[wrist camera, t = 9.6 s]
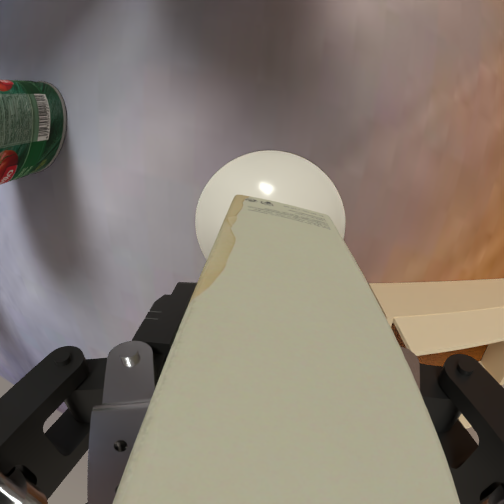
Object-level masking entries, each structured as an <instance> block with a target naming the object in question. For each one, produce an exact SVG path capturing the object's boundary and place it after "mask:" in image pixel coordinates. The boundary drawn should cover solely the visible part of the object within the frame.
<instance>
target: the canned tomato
mask: <svg viewBox="0 0 504 504" xmlns="http://www.w3.org/2000/svg"><path fill="white" fill-rule="evenodd" d="M66 121H67V117H66V108H65V104H64V100H63V98H62V96H61V94H60V92H59V91H58V90H57V88H56V87H54V86H53V85H52V84H50V83H47V82H41V81H38V82H34V81H18V80H0V184H3V183H6V182H8V181H11V180H14V179H17V178H20V177H24V176H27V175H29V174H32V173H38V172H41V171H43V170H44V169H46V168H47V167H49V166H50V165H51V164H52V163H53V161H54V160H55V158H56V157H57V155H58V153H59V151H60V149H61V147H62V144H63V141H64V137H65V132H66Z"/></svg>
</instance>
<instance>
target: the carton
mask: <svg viewBox="0 0 504 504" xmlns="http://www.w3.org/2000/svg"><path fill="white" fill-rule="evenodd" d="M369 287H370V289H371V290H372V292H373V294H374V296H375V298H376V300H377V302H378V304H379V306H380V308H381V309H382V311H383V313H384V315H385V317H386V319H387V321H388V323H389V325H390V327H391V326H392V323H394V325H395V327H396V328H397V330H398V332H399V334H400V336H401V338H402V340H403V342H404V344H405V346H406V348H407V349H409V350H410V351H412V352H413V353H414V354H415V355H416V356H419V355H427V354H434V353H441V352H447V351H454V350H460V349H465V348H471V347H476V346H481V345H486V344H488V347H487V349H486V351H485V353H484V355H483V357H482V359H481V361H479V363H480V364H481V365H482V366H483V367H484V368H485V369H486V370H487V371H488V372H489V373H490V374H491V375H492V377H493V378H494V379H495V380H496V381H497V382H498V383H499V384H500V385H504V278H502V279H485V280H465V281H441V282H412V283H369ZM458 419H459V421H460V422H461V423H462V424H463V426H464V427H465V428H466V429H467V428H470V427H472V426H471V425H470V423H469V422H468V421H467V420H466V418H465V417H464V416H463V414H461V415H460V417H459V418H458Z"/></svg>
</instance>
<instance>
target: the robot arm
mask: <svg viewBox="0 0 504 504" xmlns="http://www.w3.org/2000/svg"><path fill="white" fill-rule="evenodd" d="M196 285H197V283H188V282H178V283H177V285H176V287H175V289H174V290H173V292H172V294H171V295H163V296H162V297H161V298H159V299H158V300H157V301H155V302H154V304H153V306H152V307H151V309H150V312H148V314H147V316H146V319H144V321H143V322H142V324H141V326H140V327H139V329H138V331H137V332H136V334H135V336H134V337H133V339H132V341H127V342H123V343H121V344H119V345H117V346H115V347H114V348H113V349H112V350H111V351H110V352H109V354H108V357H107V358H99V359H85V357H84V355H83V352H82V351H81V350H80V349H79V348H77V347H74V346H65V347H61V348H58V349H56V350H54V351H53V352H51V353H50V354H49V355H48V356H47V357H45V358H44V359H43V360H42V361H41V362H40V363H39V364H38V365H36V366H35V367H34V368H33V369H32V370H31V371H30V372H29V373H27V374H26V375H25V376H24V377H23V378H22V379H21V380H20V381H19V382H17V383H16V384H15V385H14V386H13V387H12V388H11V389H10V390H9V391H8V392H7V393H6V394H4V395H3V396H2V397H1V398H0V504H48V502H47V500H48V498H49V497H50V496H51V495H52V493H53V492H54V491H55V490H56V488H57V487H58V486H59V485H60V483H61V482H62V481H63V480H64V478H65V477H66V476H67V475H68V474H69V472H70V471H71V470H72V469H73V467H74V466H75V465H76V464H77V462H78V461H79V460H80V459H81V457H82V456H83V455H84V454H85V452H86V451H87V450H88V449H89V451H88V503H86V504H113V501H114V498H115V495H116V493H117V490H118V487H119V484H120V481H121V479H122V476H123V473H124V470H125V467H126V465H127V462H128V459H129V457H130V454H131V451H132V449H133V446H134V443H135V441H136V438H137V435H138V433H139V430H140V428H141V425H142V422H143V420H144V418H145V415H146V412H147V409H148V407H149V404H150V401H151V399H152V396H153V393H154V390H155V388H156V385H157V382H158V380H159V377H160V375H161V372H162V369H163V367H164V364H165V362H166V359H167V357H168V354H169V352H170V349H171V347H172V344H173V342H174V339H175V337H176V334H177V331H178V329H179V326H180V324H181V321H182V319H183V316H184V314H185V312H186V309H187V307H188V304H189V302H190V299H191V297H192V295H193V292H194V290H195V287H196ZM396 340H397V339H396ZM397 342H398V341H397ZM400 348H401V350H402V352H403V354H404V357H405V359H406V361H407V363H408V365H409V367H410V369H411V372H412V374H413V376H414V379H415V381H416V384H417V386H418V388H419V391H420V393H421V395H422V398H423V400H424V403H425V405H426V408H427V410H428V412H429V415H430V417H431V420H432V422H433V425H434V427H435V430H436V433H437V435H438V438H439V440H440V443H441V446H442V448H443V451H444V454H445V457H446V460H447V462H448V465H449V469H450V472H451V475H452V478H453V481H454V485H455V488H456V491H457V494H458V498H459V501H460V503H461V504H504V388H503V387H502V386H501V385H500V384H499V383H498V382H497V381H496V380H495V379H494V378H493V377H492V375H491V374H490V373H489V372H488V371H487V370H486V369H485V368H484V367H483V366H482V365H481V364H480V363H479V362H478V361H477V360H475V359H474V358H472V357H470V356H468V355H464V354H455V355H452V356H450V357H449V358H447V360H446V361H445V364H444V366H443V367H441V366H432V365H425V364H420V363H419V360H418V358H417V356H416V355H415V354H414V353H413V352H412V351H410V350H409V349H406V348H404V347H401V346H400ZM63 402H65V404H66V405H67V407H68V409H67V410H66V411H65V412H64V413H63V414H62V415H61V417H60V418H59V419H58V420H57V421H56V422H55V423H54V424H53V425H52V426H51V427H50V428H49V429H48V430H47V432H46V433H45V434H44V432H43V425H44V422H45V421H46V419H47V418H48V417H49V416H50V415H51V414H52V413H53V412H54V411H55V410H56V409H57V408H58V407H59V406H60V405H61V404H62V403H63ZM461 414H463V416H464V417H465V418H466V420H467V421H468V422H469V423H470V425H471V426H472V427H473V429H474V430H475V431H476V432H477V434H478V437H479V446H478V445H477V443H476V442H475V441H474V439H473V438H472V437H471V435H470V434H469V432H468V431H467V430H466V428H465V427H464V426H463V424H462V423H461V422H460V421H459V419H458V418H459V417H460V415H461Z"/></svg>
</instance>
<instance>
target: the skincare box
mask: <svg viewBox="0 0 504 504" xmlns="http://www.w3.org/2000/svg"><path fill="white" fill-rule="evenodd" d="M113 504H460V501H459V498H458V494H457V491H456V488H455V485H454V481H453V478H452V475H451V472H450V469H449V465H448V462H447V460H446V457H445V454H444V451H443V448H442V446H441V443H440V440H439V438H438V435H437V433H436V430H435V427H434V425H433V422H432V420H431V417H430V415H429V412H428V410H427V408H426V405H425V403H424V400H423V398H422V395H421V393H420V391H419V388H418V386H417V384H416V381H415V379H414V376H413V374H412V372H411V369H410V367H409V365H408V363H407V361H406V359H405V357H404V354H403V352H402V350H401V348H400V346H399V344H398V342H397V340H396V337H395V335H394V333H393V331H392V329H391V327H390V325H389V323H388V321H387V319H386V317H385V315H384V313H383V311H382V309H381V308H380V306H379V304H378V302H377V300H376V298H375V296H374V294H373V292H372V290H371V289H370V287H369V285H368V283H367V281H366V279H365V277H364V275H363V273H362V272H361V270H360V268H359V266H358V265H357V263H356V261H355V259H354V257H353V256H352V254H351V253H350V251H349V249H348V247H347V245H346V244H345V242H344V240H343V239H342V237H341V235H340V233H339V232H338V230H337V228H336V226H335V225H334V223H333V222H332V220H331V218H330V217H329V216H328V215H326V214H322V213H318V212H315V211H311V210H307V209H304V208H300V207H296V206H292V205H288V204H283V203H280V202H275V201H271V200H266V199H261V198H256V197H250V196H245V195H235V196H234V198H233V200H232V202H231V205H230V207H229V210H228V212H227V214H226V216H225V219H224V221H223V223H222V226H221V228H220V231H219V233H218V235H217V238H216V240H215V242H214V245H213V247H212V249H211V252H210V254H209V257H208V259H207V261H206V264H205V266H204V268H203V271H202V273H201V275H200V278H199V280H198V283H197V285H196V287H195V290H194V292H193V295H192V297H191V299H190V302H189V304H188V307H187V309H186V312H185V314H184V316H183V319H182V321H181V324H180V326H179V329H178V331H177V334H176V337H175V339H174V342H173V344H172V347H171V349H170V352H169V354H168V357H167V359H166V362H165V364H164V367H163V369H162V372H161V375H160V377H159V380H158V382H157V385H156V388H155V390H154V393H153V396H152V399H151V401H150V404H149V407H148V409H147V412H146V415H145V418H144V420H143V422H142V425H141V428H140V430H139V433H138V435H137V438H136V441H135V443H134V446H133V449H132V451H131V454H130V457H129V459H128V462H127V465H126V467H125V470H124V473H123V476H122V479H121V481H120V484H119V487H118V490H117V493H116V495H115V498H114V501H113Z"/></svg>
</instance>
